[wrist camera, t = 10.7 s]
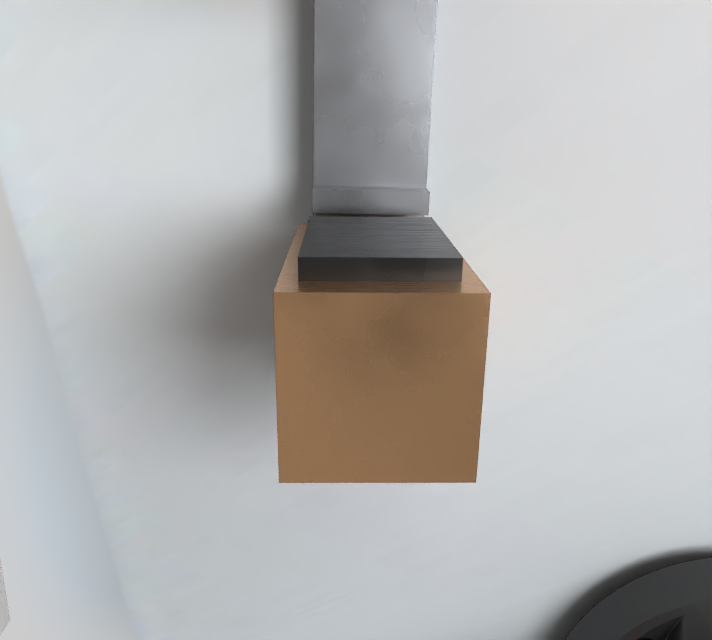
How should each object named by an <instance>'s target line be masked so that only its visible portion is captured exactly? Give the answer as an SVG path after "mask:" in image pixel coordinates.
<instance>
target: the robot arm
mask: <svg viewBox="0 0 712 640" xmlns="http://www.w3.org/2000/svg"><path fill="white" fill-rule="evenodd" d="M9 621H10V618H9V611H8V605H7V598H6V592H5V586H4V580H3V574H2V567H1V561H0V634H1V633H2V631H3V630H4V628H5V627H6V625H7V623H8V622H9ZM565 640H712V558H706V559H699V560H693V561H688V562H683V563H679V564H675V565H672V566H668V567H665V568H662V569H659V570H656V571H654V572H651V573H649V574H646V575H644V576H642V577H640V578H638V579H636V580H634V581H632V582H630V583H628V584H626V585H624V586H623V587H621V588H619V589H618V590H616V591H615V592H613V593H612V594H610V595H609V596H607V597H606V598H604V599H603V600H602V601H601V602H599V603H598V604H597V605H596V606H594V607H593V608H592V609H591V610H590V611H589V612H588V613H587V614H586V615H585V616H584V617H583V618H582V619H581V620H580V621H579V622H578V623H577V624H576V626H575V627H574V628H573V629H572V631H571V632H570V633H569V635H568V636H567V637H566V639H565Z"/></svg>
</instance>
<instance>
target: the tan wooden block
mask: <svg viewBox="0 0 712 640" xmlns="http://www.w3.org/2000/svg"><path fill="white" fill-rule="evenodd" d="M490 298H491V293H490V292H489V290H488V289H487V288H486V287H485V285H484V284H483V283H482V281H481V280H480V279H479V278H478V276H477V275H476V274H475V272H474V271H473V270H472V269H471V267H470V266H469V265H468V263H467V262H466V261H465V260H464V258H463V257H462V256H461V254H460V253H459V252H458V251H457V249H456V248H455V247H454V246H453V244H452V243H451V242H450V240H449V239H448V238H447V237H446V235H445V234H444V233H443V231H442V230H441V229H440V228H439V226H438V225H437V224H436V222H435V221H434V220H433V219H432V217H325V216H310V218H309V221H308V224H299V225H298V228H297V230H296V233H295V236H294V238H293V241H292V244H291V246H290V249H289V252H288V254H287V257H286V260H285V262H284V265H283V268H282V270H281V273H280V276H279V278H278V281H277V284H276V286H275V289H274V292H273V300H274V333H275V366H276V398H277V431H278V464H279V483H458V482H476V476H477V464H478V451H479V438H480V425H481V412H482V400H483V387H484V374H485V361H486V349H487V336H488V323H489V310H490Z"/></svg>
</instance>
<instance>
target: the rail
mask: <svg viewBox="0 0 712 640" xmlns="http://www.w3.org/2000/svg"><path fill="white" fill-rule="evenodd" d="M436 15H437V0H315V2H314V166H313V188H312V213H313V216H325V217H425V215H428V212H429V195H430V192H429V191H428V190H427V189H426V183H427V166H428V149H429V133H430V116H431V99H432V82H433V66H434V49H435V32H436Z"/></svg>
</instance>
